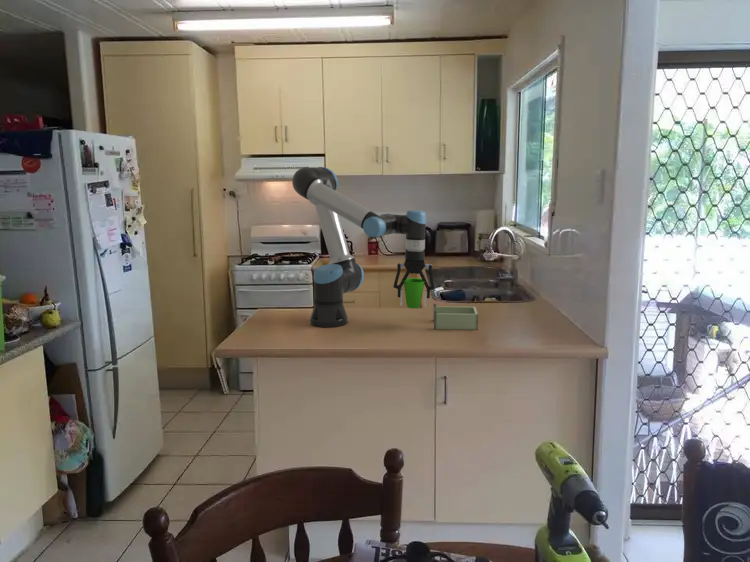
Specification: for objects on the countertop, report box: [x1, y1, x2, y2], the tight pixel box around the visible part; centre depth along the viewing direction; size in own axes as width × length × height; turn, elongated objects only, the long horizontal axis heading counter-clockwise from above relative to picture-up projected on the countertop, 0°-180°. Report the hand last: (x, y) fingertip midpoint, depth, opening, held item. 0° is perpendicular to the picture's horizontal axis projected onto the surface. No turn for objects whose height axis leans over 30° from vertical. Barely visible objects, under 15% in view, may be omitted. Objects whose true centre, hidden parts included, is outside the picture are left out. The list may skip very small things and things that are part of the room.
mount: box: [432, 303, 479, 331], centre depth 235 cm, size 17×14×7 cm
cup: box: [403, 277, 425, 309], centre depth 235 cm, size 9×9×11 cm
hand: (413, 305), depth 236 cm, fingers closed on cup, 9 cm apart
